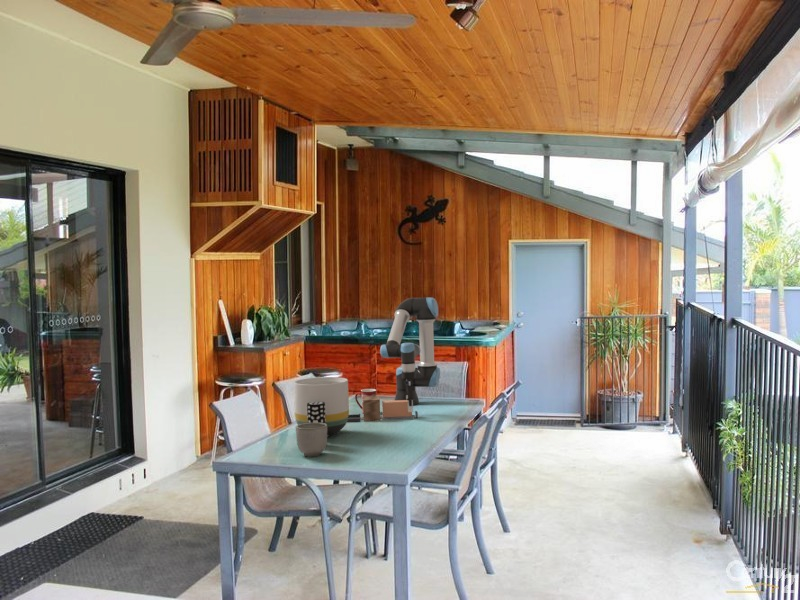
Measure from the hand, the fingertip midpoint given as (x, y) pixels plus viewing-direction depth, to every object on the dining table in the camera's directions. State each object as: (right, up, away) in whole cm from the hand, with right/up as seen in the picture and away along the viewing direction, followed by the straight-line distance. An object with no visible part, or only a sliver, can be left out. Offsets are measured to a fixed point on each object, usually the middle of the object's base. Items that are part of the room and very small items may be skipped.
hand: (409, 409), depth 387 cm
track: (-11, -5, -1) cm, 12 cm away
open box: (-21, -5, -1) cm, 21 cm away
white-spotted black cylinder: (-44, -8, -61) cm, 75 cm away
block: (-7, -3, -1) cm, 8 cm away
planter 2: (-44, -8, -77) cm, 89 cm away
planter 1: (-44, -7, -37) cm, 58 cm away
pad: (-7, -5, -1) cm, 8 cm away
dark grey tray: (-31, -5, -2) cm, 32 cm away
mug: (-25, -5, +16) cm, 30 cm away
